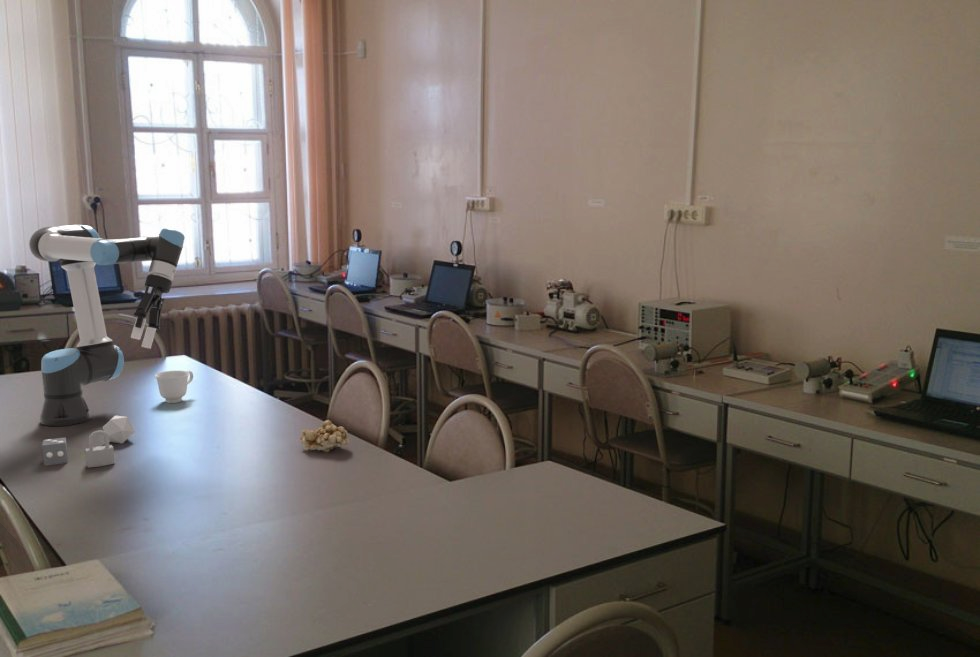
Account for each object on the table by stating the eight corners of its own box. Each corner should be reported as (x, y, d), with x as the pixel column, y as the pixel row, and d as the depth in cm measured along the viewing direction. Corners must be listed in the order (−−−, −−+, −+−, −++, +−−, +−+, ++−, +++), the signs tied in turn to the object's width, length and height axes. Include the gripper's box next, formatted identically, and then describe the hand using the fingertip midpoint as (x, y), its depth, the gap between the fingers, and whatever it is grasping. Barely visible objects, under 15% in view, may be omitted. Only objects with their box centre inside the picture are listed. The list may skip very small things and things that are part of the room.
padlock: (112, 460, 262) (110, 427, 261) (115, 464, 259) (112, 430, 257) (86, 464, 259) (83, 430, 257) (88, 468, 255) (85, 434, 254)
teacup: (204, 398, 334) (203, 371, 332) (171, 406, 322) (169, 379, 320) (182, 393, 341) (181, 367, 339) (149, 402, 328) (147, 375, 326)
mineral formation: (332, 439, 282) (362, 446, 272) (297, 456, 273) (326, 463, 263) (326, 415, 280) (356, 421, 270) (291, 431, 271) (320, 438, 261)
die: (141, 441, 283) (134, 413, 286) (128, 435, 275) (121, 406, 278) (116, 451, 282) (109, 423, 286) (102, 445, 274) (95, 416, 278)
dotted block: (44, 459, 263) (42, 439, 262) (67, 457, 266) (65, 436, 265) (44, 466, 258) (42, 445, 257) (67, 463, 260) (65, 442, 259)
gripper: (163, 269, 270) (143, 337, 265) (180, 290, 294) (161, 353, 289) (138, 263, 269) (117, 332, 264) (156, 285, 294) (138, 348, 289)
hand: (140, 343), depth 277 cm, fingers open, 13 cm apart
